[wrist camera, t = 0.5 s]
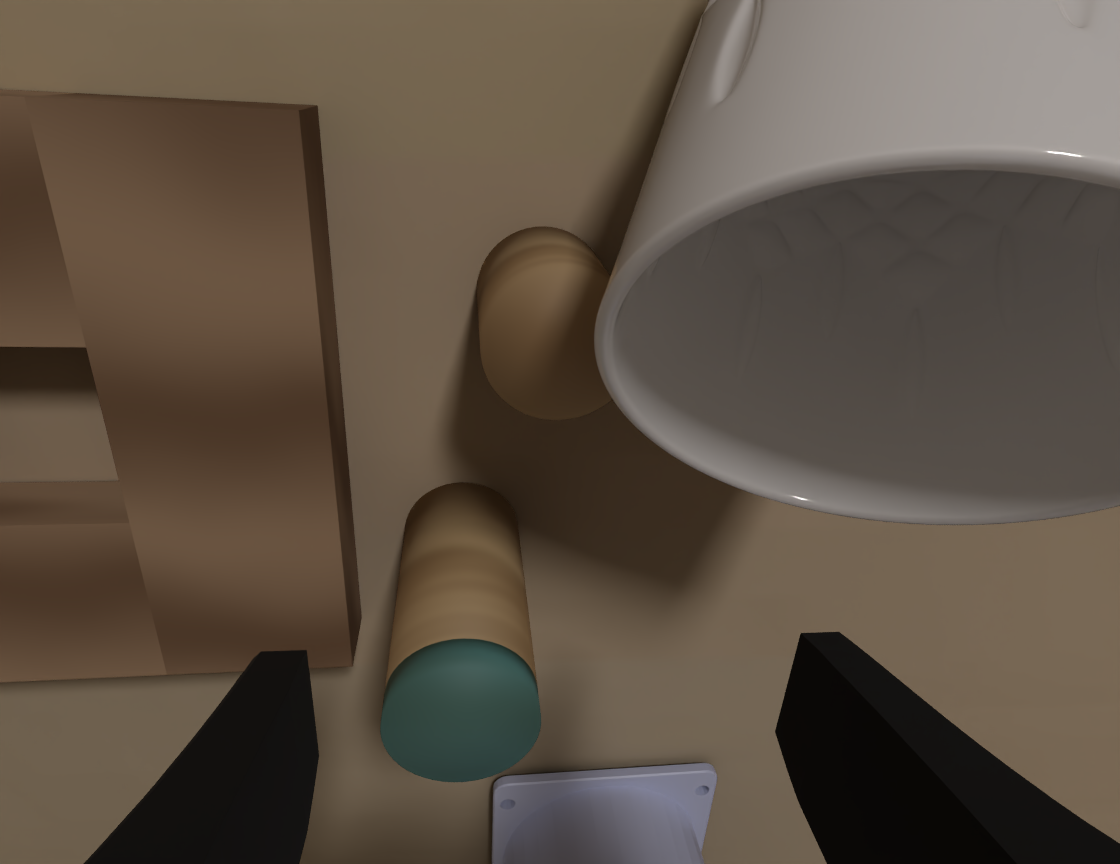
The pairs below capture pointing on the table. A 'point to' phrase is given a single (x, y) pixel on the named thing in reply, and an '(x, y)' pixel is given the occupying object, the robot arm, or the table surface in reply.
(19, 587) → the wooden board with hole
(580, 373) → the short dowel
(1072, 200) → the white cup
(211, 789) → the robot arm
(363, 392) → the table surface
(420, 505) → the long dowel
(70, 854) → the table surface
